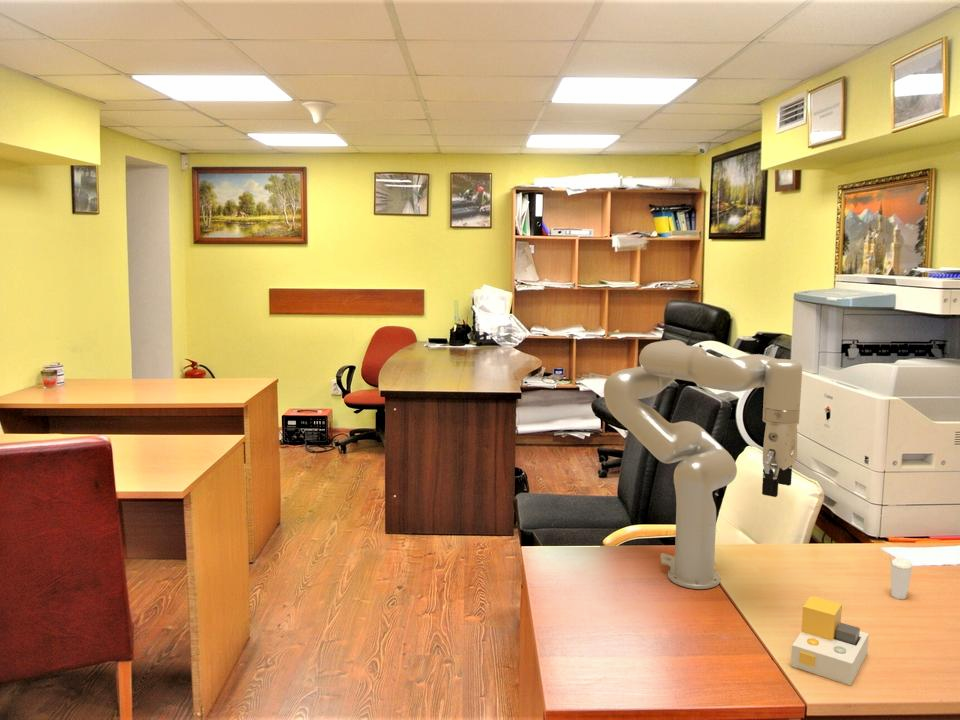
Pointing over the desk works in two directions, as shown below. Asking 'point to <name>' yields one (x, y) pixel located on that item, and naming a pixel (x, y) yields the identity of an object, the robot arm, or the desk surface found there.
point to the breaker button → (847, 634)
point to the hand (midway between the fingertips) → (776, 489)
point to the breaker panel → (829, 656)
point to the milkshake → (900, 577)
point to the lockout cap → (821, 617)
